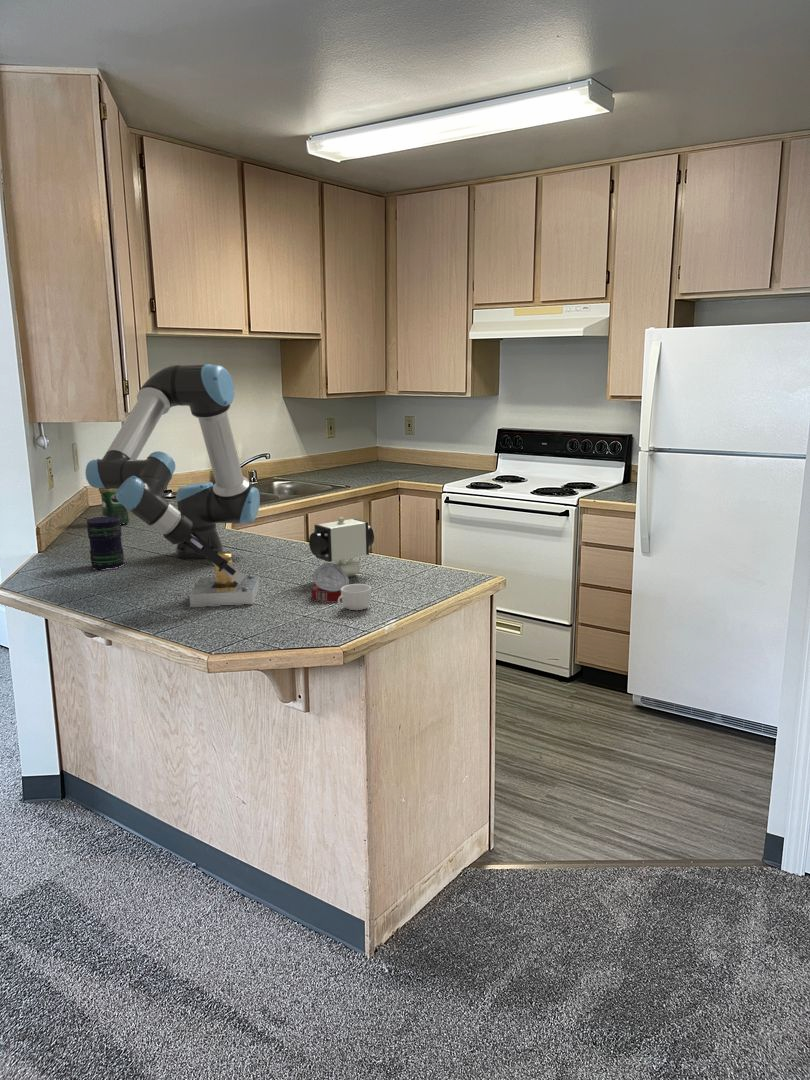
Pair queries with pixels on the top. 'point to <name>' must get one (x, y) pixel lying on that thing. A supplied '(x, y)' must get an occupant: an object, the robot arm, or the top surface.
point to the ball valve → (342, 543)
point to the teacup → (355, 596)
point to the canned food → (328, 582)
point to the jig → (224, 592)
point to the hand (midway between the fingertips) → (237, 576)
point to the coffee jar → (113, 505)
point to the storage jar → (105, 542)
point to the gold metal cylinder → (222, 577)
